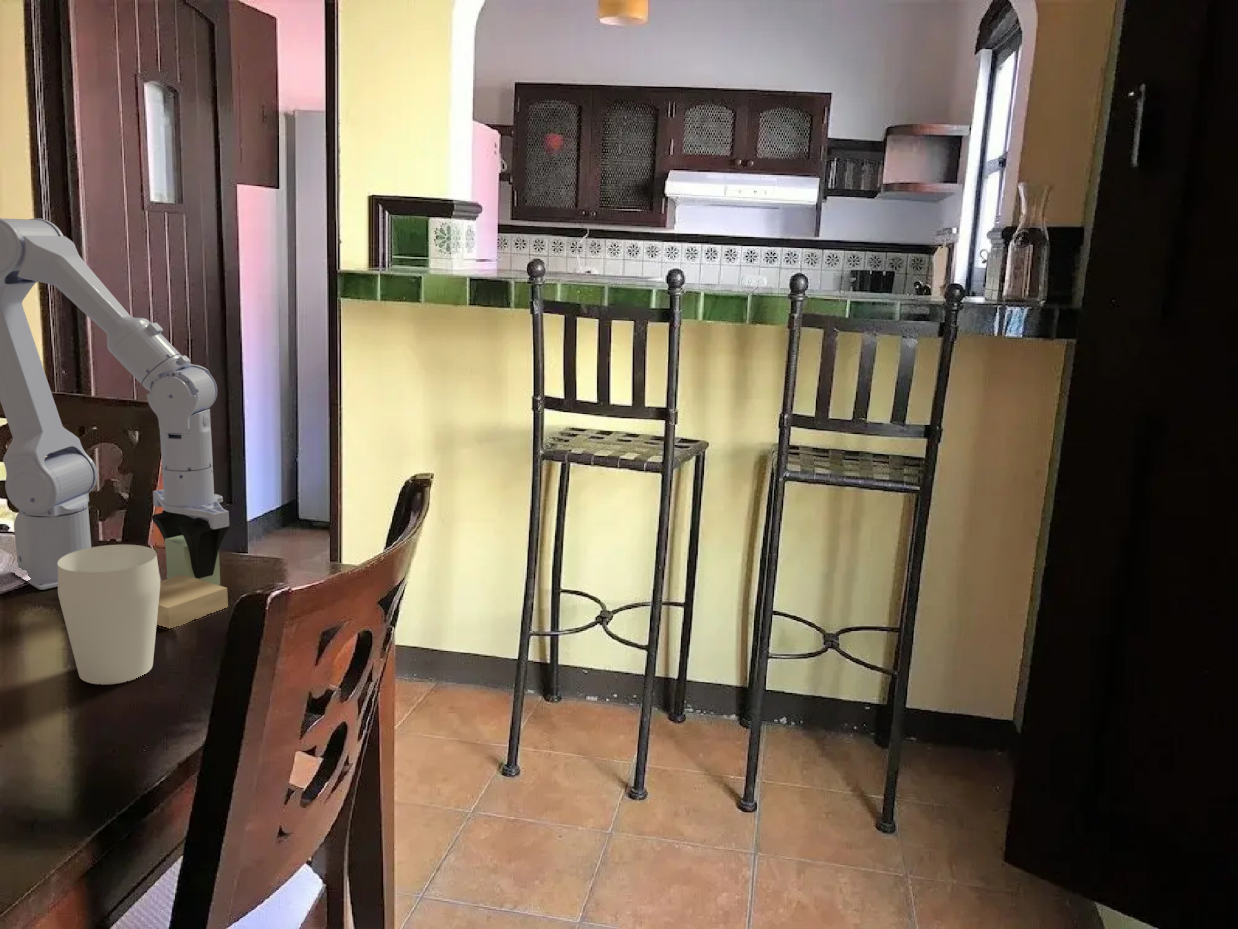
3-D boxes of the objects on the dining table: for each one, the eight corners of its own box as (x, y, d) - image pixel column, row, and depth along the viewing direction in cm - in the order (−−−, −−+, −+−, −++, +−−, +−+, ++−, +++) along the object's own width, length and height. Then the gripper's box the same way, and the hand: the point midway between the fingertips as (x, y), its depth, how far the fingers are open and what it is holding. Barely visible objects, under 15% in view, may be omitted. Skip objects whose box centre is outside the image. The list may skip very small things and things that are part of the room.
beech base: (123, 618, 113) (121, 593, 113) (182, 597, 120) (181, 574, 120) (169, 633, 110) (168, 608, 109) (228, 611, 117) (227, 587, 116)
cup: (125, 696, 94) (116, 577, 91) (43, 684, 96) (32, 567, 93) (184, 659, 103) (178, 549, 100) (108, 648, 104) (100, 540, 102)
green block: (167, 584, 123) (164, 538, 122) (201, 576, 127) (199, 531, 126) (186, 593, 121) (183, 546, 119) (220, 584, 124) (218, 539, 123)
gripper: (250, 471, 119) (254, 577, 122) (188, 451, 128) (193, 551, 131) (194, 480, 114) (200, 591, 117) (133, 459, 122) (141, 563, 125)
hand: (193, 571), depth 123 cm, fingers closed on green block, 4 cm apart
